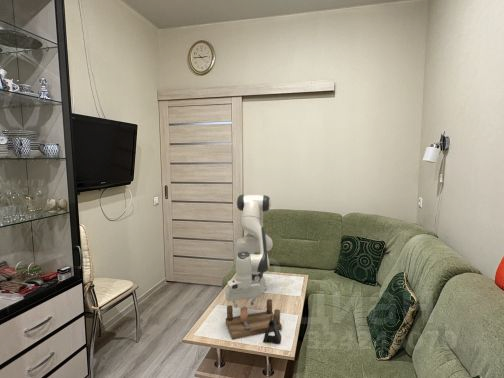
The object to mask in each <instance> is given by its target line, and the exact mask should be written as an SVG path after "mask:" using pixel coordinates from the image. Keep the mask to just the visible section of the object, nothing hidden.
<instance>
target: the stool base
mask: <svg viewBox="0 0 504 378" xmlns="http://www.w3.org/2000/svg"><path fill="white" fill-rule="evenodd" d="M233 307H234V306H233V305H230V304H229V305H227V306H226V317H225V324H226V327H227V329H228V332H229V335H230V337H231V339H232V340H236V339H242V338H246V337H247V338H249V337H252V336H258V335H262V334H265V333H266V330H267V328H268V325H269V321H270V317H271V316H272V320H273V317H274V316H275V317H276V323H277V326H278V329H279V331H282V330H283V329H282V328H283V327H282V326H283V325H282V323H281V310H280V309H279V308H277V309H274V310H273V300H272V299H266V310H265V311H259V312H254V313H248V322H247V323H248V325H249V326H250V329H249V330H246V329H245V326H244V324H243V323H241V321H240V315H235V316H233V315H234V314H233V313H234V312H233V311H234V309H233ZM269 333H274V331H273V328H270V331H269Z"/></svg>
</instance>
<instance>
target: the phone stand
mask: <svg viewBox="0 0 504 378" xmlns="http://www.w3.org/2000/svg"><path fill="white" fill-rule="evenodd" d="M270 328H273V331H274V332H273V333H274V335H269V334H270V332H269V331H270ZM280 331H281V330H279V329H278V326H277V323H276V317H275V316H274V317H273V320H272V316H271V317H270V321H269V325H268V328H267V330H266V333H264V336H263V339H262V343H268V344H275V345H281V342H282V334H281V332H280Z"/></svg>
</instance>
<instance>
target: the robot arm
mask: <svg viewBox="0 0 504 378" xmlns="http://www.w3.org/2000/svg"><path fill="white" fill-rule="evenodd" d="M271 205H272V201H271V197H270V196H269V195H265V194H264V195H262V194H240V195H238V197H237V198H236V208H237V209H238V210H239V211H241V212H242V213H241V219H240V220H241V222H240V223H241V228H242V230H244V232H246V233H247V234H249V235H252V236H244V237H241V238H238V239H237V240H236V242H235V248H236V251H237V252H238V253H237V254H236V258H235V273H236V275H235V277H234V278H232V279H230V280H228V281H227V287H226V289H225V300H226V301H227V302H232V303H233V307H234V308H235V309H236V308H238V303H237V302H236V301H240V300H241V301H242V300H249V299H252V300H250V306H254V305H255V301H256V299H257V298H261V297H262V295H263V293H264V292H265V291H267V289H268V286H266V278H265V277H264V274H265V273H266V272H267V271H269V270H270V269H269V268H270V259H269V253H268V251H271V249H273V247H274V245H273V244H274V243H273V239H272V238H271V237H270V235H267V233H266V231H265V228H264V212H267V211H269V210H270V208H271ZM255 253H256V254H255ZM257 253H259V254H257Z"/></svg>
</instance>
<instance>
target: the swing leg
mask: <svg viewBox="0 0 504 378" xmlns="http://www.w3.org/2000/svg"><path fill="white" fill-rule="evenodd" d="M248 309H249V308H248V307H246V306H242V307H240V309H239V311H240V314H239V316H240V321H241V323H243V324H244V326H245V329H246V330H249V329H250V326H249V325H248V323H247V322H248V314H249V313H248V312H249V311H248Z"/></svg>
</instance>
